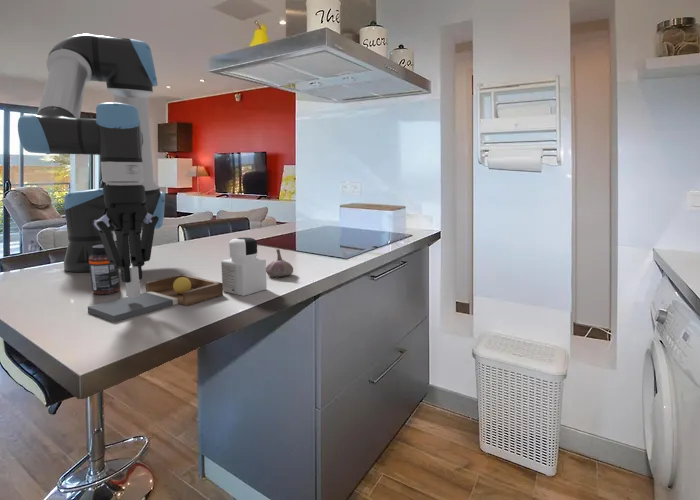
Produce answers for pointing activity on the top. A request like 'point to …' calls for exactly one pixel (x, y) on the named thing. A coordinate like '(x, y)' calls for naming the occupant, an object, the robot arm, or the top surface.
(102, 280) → the supplement bottle
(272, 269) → the garlic bulb
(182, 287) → the ball
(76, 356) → the top surface
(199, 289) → the tray
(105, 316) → the grey flat slab
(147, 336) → the top surface
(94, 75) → the robot arm
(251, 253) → the container
